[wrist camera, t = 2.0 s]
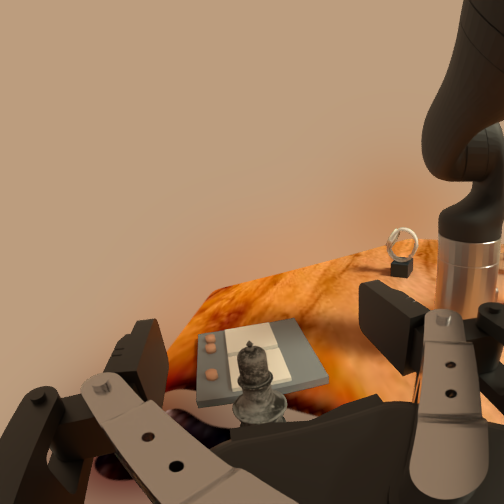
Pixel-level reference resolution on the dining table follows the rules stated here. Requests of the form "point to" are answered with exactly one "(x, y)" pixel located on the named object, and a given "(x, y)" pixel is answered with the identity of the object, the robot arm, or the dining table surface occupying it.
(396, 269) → the watch
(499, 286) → the lidded jar
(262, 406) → the salt shaker
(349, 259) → the dining table surface
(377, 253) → the dining table surface
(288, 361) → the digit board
